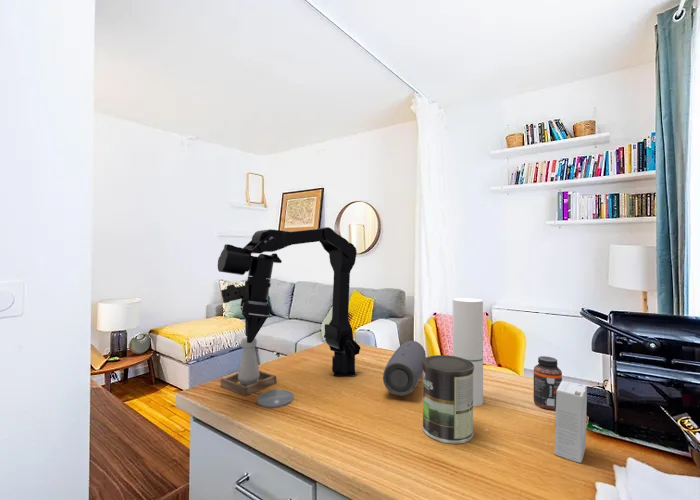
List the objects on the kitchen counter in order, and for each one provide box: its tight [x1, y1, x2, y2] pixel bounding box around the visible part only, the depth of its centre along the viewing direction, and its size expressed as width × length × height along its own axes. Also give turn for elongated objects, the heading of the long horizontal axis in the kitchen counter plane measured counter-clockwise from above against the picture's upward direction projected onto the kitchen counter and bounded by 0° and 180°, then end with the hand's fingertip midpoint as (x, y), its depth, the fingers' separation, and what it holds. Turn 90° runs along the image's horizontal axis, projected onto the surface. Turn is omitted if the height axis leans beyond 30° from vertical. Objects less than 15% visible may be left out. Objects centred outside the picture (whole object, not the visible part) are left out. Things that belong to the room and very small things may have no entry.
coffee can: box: [422, 354, 474, 445], centre depth 71 cm, size 10×10×14 cm
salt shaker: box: [237, 336, 260, 386], centre depth 95 cm, size 6×6×13 cm
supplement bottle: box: [533, 355, 563, 411], centre depth 82 cm, size 6×6×11 cm
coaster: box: [256, 389, 295, 408], centre depth 85 cm, size 9×9×1 cm
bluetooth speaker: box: [382, 340, 427, 397], centre depth 95 cm, size 23×9×10 cm, turn 161°
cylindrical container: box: [452, 297, 484, 407], centre depth 85 cm, size 7×7×25 cm
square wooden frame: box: [220, 370, 277, 397], centre depth 95 cm, size 11×11×2 cm
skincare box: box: [554, 380, 588, 464], centre depth 63 cm, size 6×4×12 cm
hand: (248, 339), depth 86 cm, fingers open, 9 cm apart
